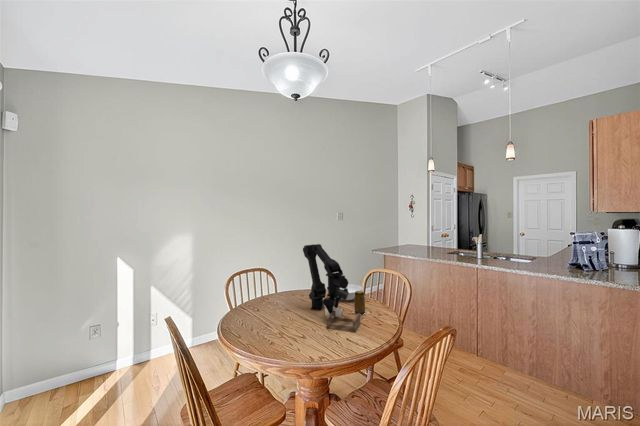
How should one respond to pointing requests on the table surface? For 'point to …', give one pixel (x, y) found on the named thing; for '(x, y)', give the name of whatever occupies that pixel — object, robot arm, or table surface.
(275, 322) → the table surface
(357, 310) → the condiment
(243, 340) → the table surface
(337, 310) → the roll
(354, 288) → the serving bowl
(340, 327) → the cradle
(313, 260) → the robot arm
